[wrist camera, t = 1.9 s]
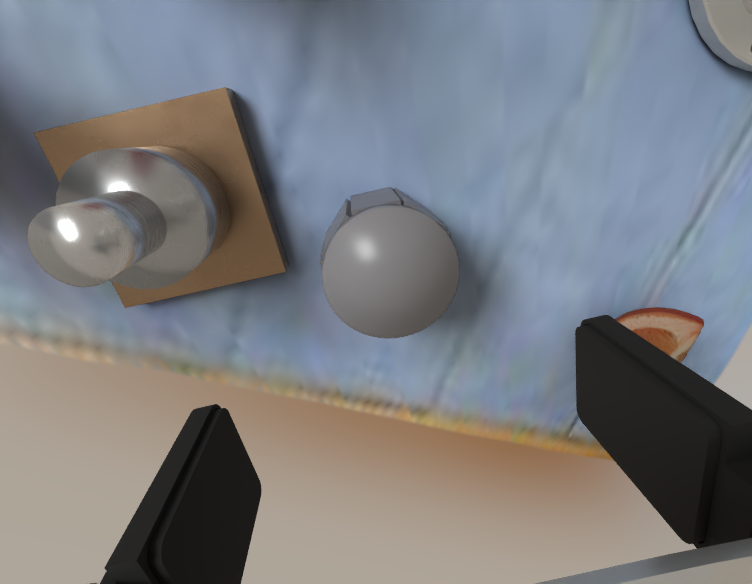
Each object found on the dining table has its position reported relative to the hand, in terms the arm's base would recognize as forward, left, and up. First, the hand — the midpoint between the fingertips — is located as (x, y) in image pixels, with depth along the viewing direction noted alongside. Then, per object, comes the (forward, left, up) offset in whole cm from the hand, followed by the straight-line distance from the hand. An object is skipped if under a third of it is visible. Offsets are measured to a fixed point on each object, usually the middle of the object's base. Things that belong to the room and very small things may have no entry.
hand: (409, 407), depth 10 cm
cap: (-1, 0, -15) cm, 15 cm away
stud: (+11, -5, -15) cm, 19 cm away
